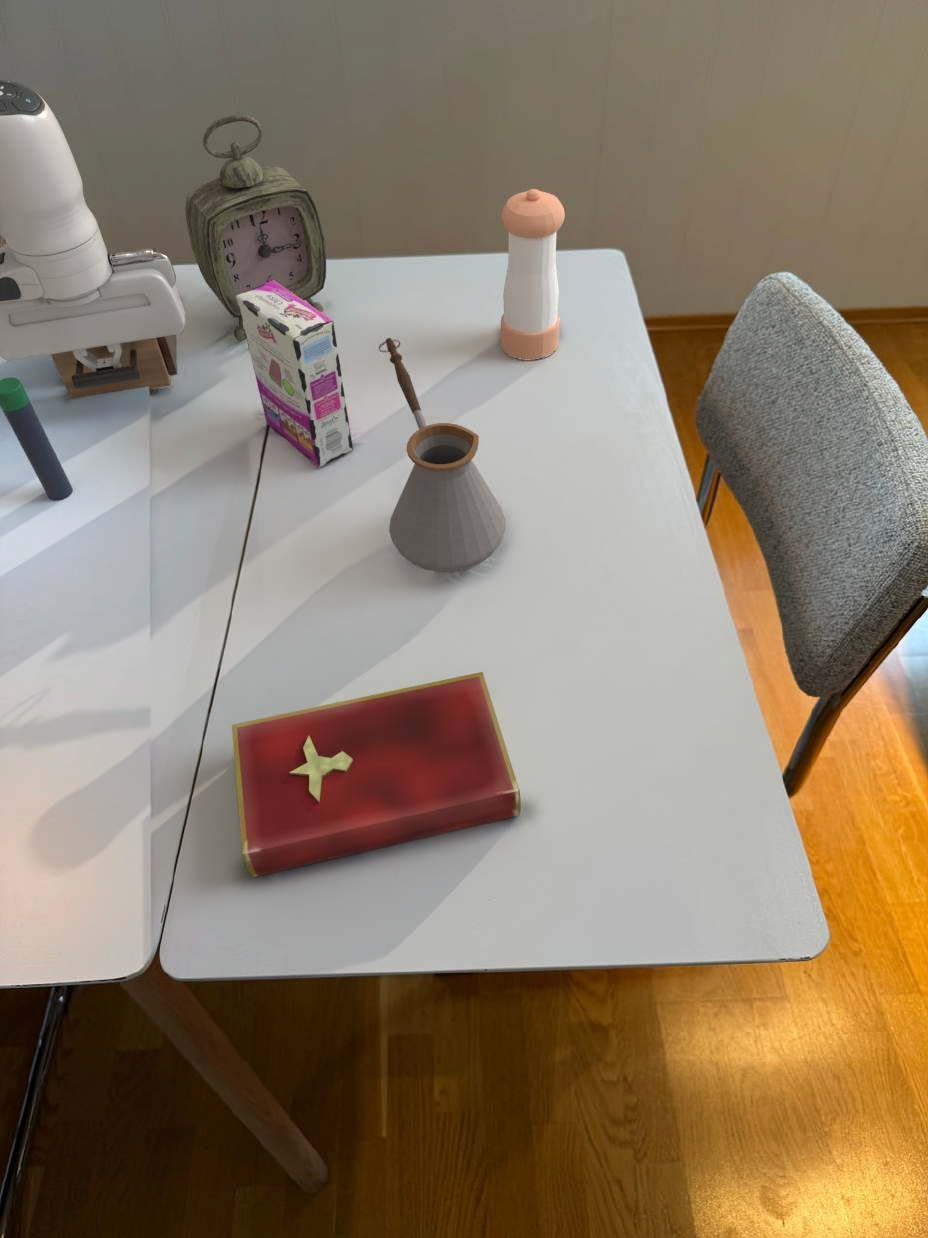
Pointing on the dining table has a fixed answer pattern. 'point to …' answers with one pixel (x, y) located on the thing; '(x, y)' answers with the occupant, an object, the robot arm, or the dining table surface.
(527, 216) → the pepper shaker
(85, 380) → the drawer
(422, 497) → the coffee pot
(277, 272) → the tabletop clock
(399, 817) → the hardcover book
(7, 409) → the marker
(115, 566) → the dining table surface
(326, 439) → the candy bar box
